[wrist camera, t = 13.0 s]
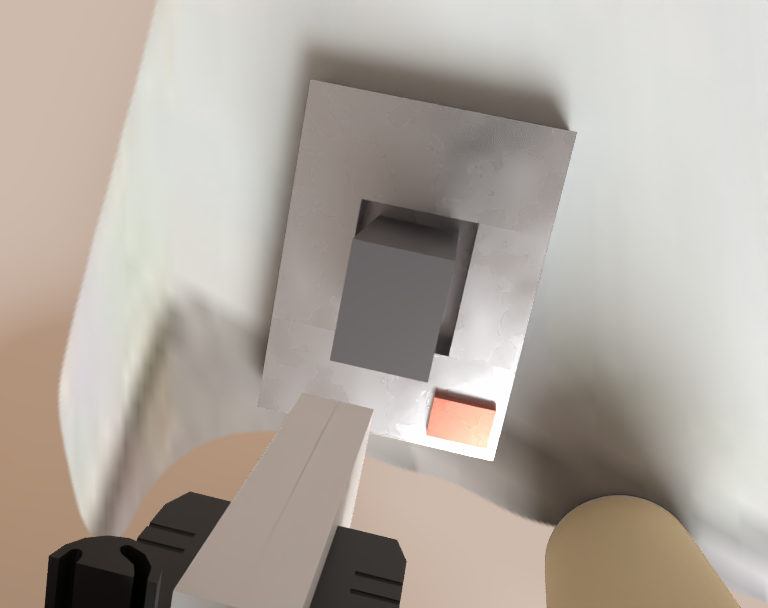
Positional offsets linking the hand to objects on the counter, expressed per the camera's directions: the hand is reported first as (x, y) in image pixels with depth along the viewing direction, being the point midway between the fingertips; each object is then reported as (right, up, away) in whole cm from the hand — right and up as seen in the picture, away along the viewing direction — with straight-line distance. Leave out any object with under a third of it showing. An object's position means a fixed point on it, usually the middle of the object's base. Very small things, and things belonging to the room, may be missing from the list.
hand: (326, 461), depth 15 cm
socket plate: (+3, +5, +21) cm, 22 cm away
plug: (+2, +5, +21) cm, 22 cm away
